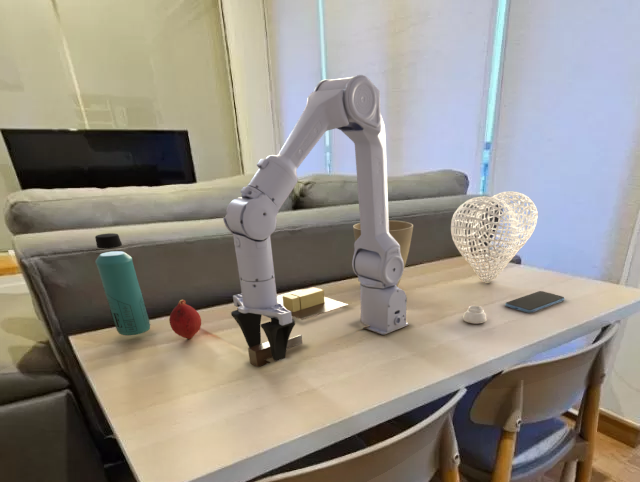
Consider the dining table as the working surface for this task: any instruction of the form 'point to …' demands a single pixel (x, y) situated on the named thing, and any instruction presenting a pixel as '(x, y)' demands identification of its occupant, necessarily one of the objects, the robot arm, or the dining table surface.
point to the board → (314, 307)
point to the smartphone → (534, 301)
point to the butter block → (310, 297)
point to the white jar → (475, 315)
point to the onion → (185, 320)
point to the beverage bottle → (121, 287)
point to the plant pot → (395, 236)
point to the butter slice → (291, 302)
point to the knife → (268, 351)
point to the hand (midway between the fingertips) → (266, 352)
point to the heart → (477, 216)
